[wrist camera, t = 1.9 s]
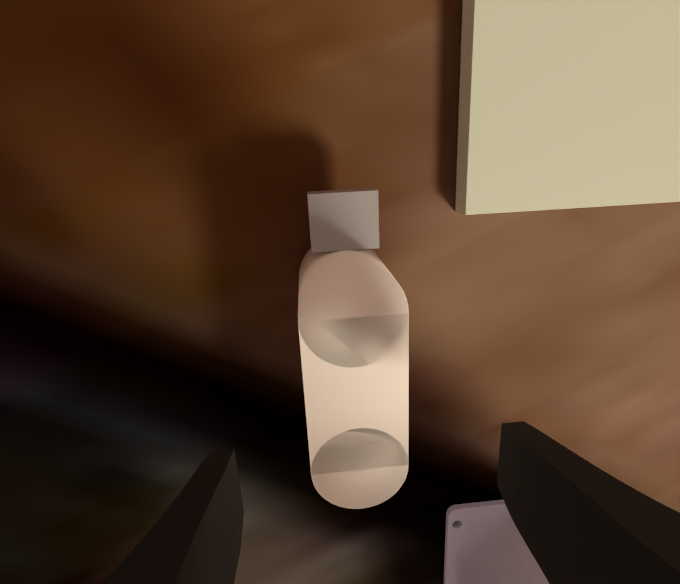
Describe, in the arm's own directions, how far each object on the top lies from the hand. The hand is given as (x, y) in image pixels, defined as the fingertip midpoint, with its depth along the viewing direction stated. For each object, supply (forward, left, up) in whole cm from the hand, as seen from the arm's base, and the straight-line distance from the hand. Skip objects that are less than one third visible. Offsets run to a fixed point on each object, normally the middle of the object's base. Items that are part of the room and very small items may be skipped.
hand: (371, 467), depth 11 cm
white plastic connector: (0, 0, -8) cm, 8 cm away
